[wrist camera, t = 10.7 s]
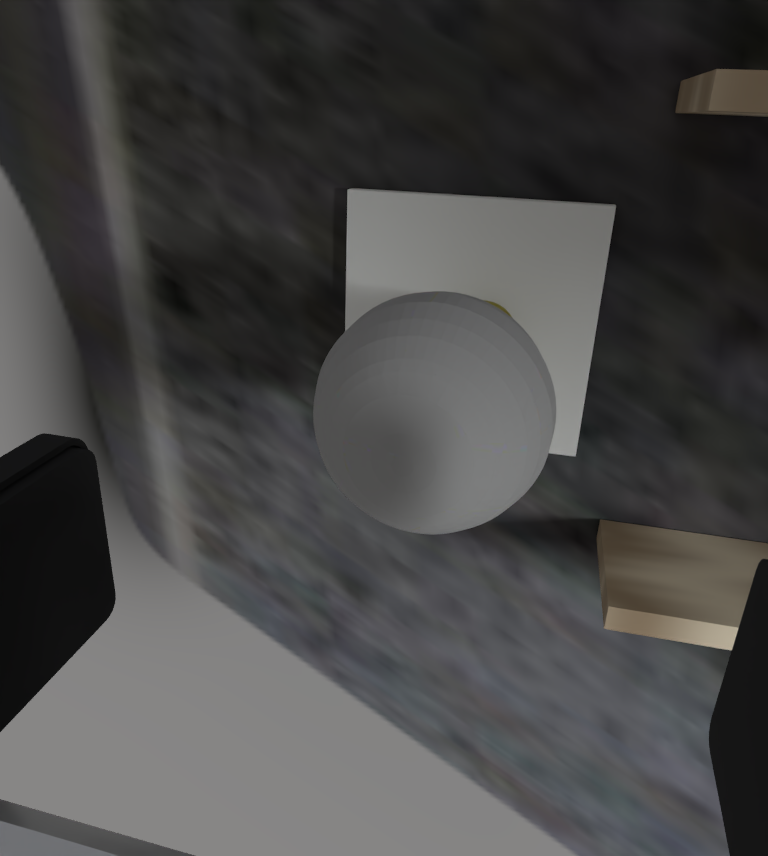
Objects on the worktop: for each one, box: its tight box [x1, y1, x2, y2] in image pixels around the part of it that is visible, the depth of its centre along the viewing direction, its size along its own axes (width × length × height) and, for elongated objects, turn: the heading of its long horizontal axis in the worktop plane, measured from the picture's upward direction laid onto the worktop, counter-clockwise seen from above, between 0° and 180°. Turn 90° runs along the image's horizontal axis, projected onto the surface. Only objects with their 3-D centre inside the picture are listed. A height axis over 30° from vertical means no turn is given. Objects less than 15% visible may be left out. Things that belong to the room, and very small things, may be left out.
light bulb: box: [313, 291, 556, 534], centre depth 18 cm, size 5×6×10 cm
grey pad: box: [345, 188, 616, 457], centre depth 23 cm, size 8×8×1 cm
